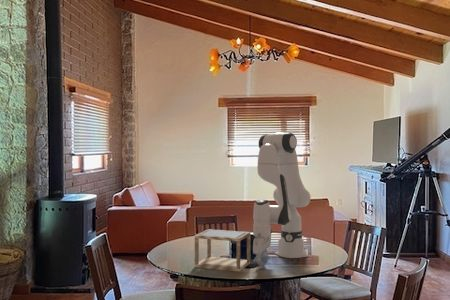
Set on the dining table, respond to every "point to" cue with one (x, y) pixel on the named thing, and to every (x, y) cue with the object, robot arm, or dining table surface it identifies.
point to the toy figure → (264, 259)
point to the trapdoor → (223, 234)
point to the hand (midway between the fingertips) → (261, 259)
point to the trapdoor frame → (218, 261)
